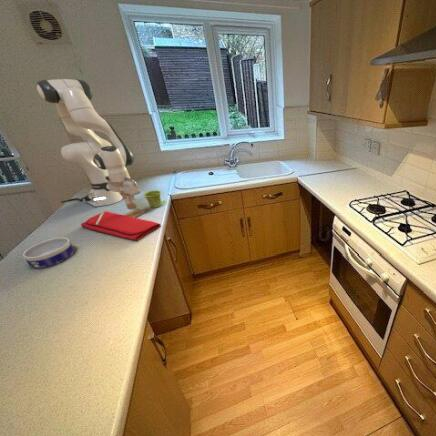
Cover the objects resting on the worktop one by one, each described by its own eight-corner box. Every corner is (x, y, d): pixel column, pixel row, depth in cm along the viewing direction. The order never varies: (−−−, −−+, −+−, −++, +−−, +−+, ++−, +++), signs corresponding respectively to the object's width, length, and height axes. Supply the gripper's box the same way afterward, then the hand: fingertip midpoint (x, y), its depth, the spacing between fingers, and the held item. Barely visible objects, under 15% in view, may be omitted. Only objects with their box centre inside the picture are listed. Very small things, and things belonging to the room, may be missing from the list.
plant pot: (157, 209, 148) (153, 196, 143) (144, 208, 149) (140, 195, 145) (167, 203, 156) (163, 190, 151) (155, 202, 157) (150, 190, 153)
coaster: (122, 216, 141) (122, 215, 141) (136, 209, 148) (135, 209, 148) (133, 218, 138) (132, 218, 138) (146, 212, 145) (146, 211, 145)
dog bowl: (21, 272, 99) (12, 260, 96) (43, 251, 112) (36, 240, 109) (64, 264, 102) (57, 253, 99) (81, 245, 115) (75, 234, 112)
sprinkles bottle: (126, 208, 141) (117, 186, 134) (135, 205, 144) (126, 184, 137) (129, 210, 138) (120, 188, 131) (138, 207, 141) (129, 185, 134)
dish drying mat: (135, 242, 116) (132, 235, 114) (81, 228, 130) (78, 222, 128) (161, 226, 129) (159, 220, 127) (109, 215, 142) (107, 209, 141)
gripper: (138, 177, 131) (146, 200, 137) (113, 173, 138) (122, 195, 144) (127, 180, 126) (136, 204, 132) (102, 177, 133) (112, 199, 139)
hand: (129, 199), depth 138 cm, fingers closed on sprinkles bottle, 4 cm apart
